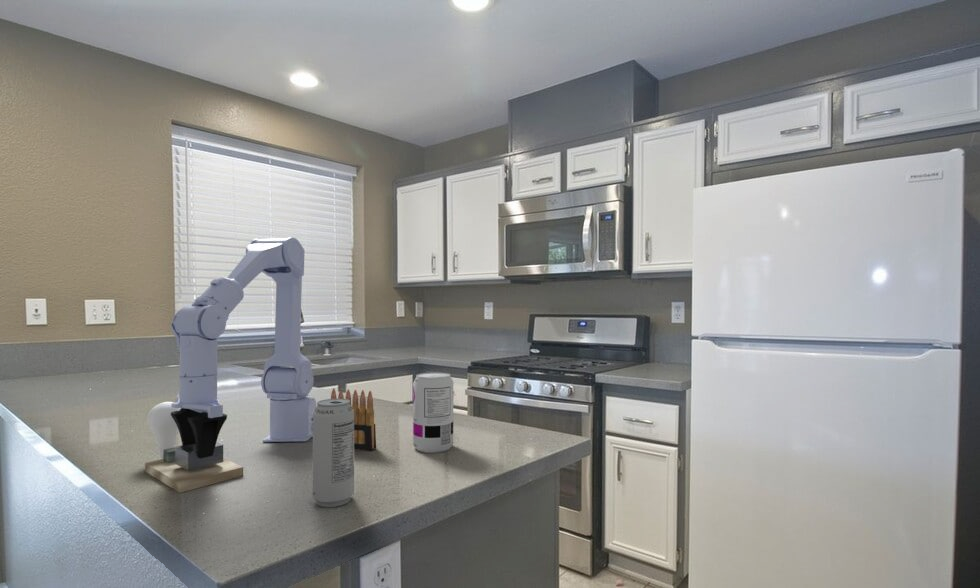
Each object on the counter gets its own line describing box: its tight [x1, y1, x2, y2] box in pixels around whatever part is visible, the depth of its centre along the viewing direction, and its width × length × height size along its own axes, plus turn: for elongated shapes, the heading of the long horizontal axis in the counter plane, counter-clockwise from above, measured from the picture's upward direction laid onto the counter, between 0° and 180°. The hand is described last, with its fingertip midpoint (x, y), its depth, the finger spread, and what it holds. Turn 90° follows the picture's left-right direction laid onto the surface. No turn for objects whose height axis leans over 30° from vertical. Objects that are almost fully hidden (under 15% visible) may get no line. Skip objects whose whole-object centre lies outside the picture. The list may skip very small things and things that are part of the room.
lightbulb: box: [146, 401, 181, 459], centre depth 97 cm, size 6×6×11 cm
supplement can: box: [412, 372, 454, 454], centre depth 104 cm, size 8×8×15 cm
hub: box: [174, 442, 224, 471], centre depth 88 cm, size 6×6×3 cm
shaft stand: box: [144, 446, 244, 494], centre depth 89 cm, size 16×10×4 cm, turn 51°
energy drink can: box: [312, 398, 355, 508], centre depth 77 cm, size 6×6×15 cm
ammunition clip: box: [330, 388, 377, 452], centre depth 105 cm, size 11×2×12 cm, turn 71°
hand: (198, 453), depth 88 cm, fingers closed on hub, 5 cm apart
